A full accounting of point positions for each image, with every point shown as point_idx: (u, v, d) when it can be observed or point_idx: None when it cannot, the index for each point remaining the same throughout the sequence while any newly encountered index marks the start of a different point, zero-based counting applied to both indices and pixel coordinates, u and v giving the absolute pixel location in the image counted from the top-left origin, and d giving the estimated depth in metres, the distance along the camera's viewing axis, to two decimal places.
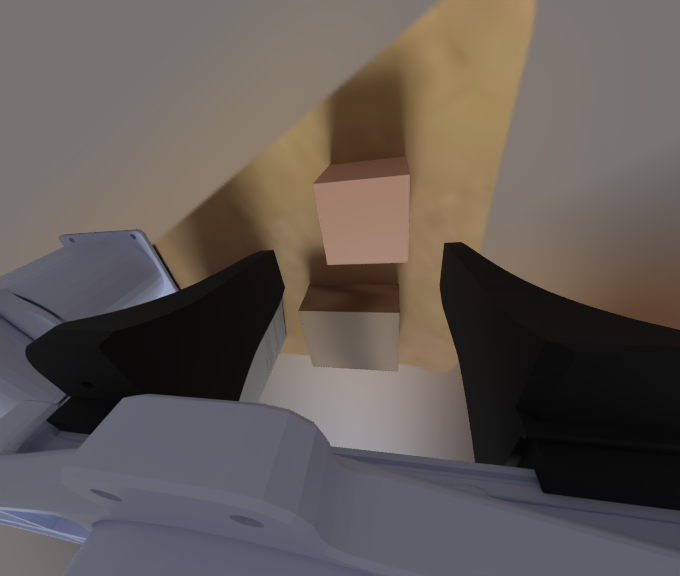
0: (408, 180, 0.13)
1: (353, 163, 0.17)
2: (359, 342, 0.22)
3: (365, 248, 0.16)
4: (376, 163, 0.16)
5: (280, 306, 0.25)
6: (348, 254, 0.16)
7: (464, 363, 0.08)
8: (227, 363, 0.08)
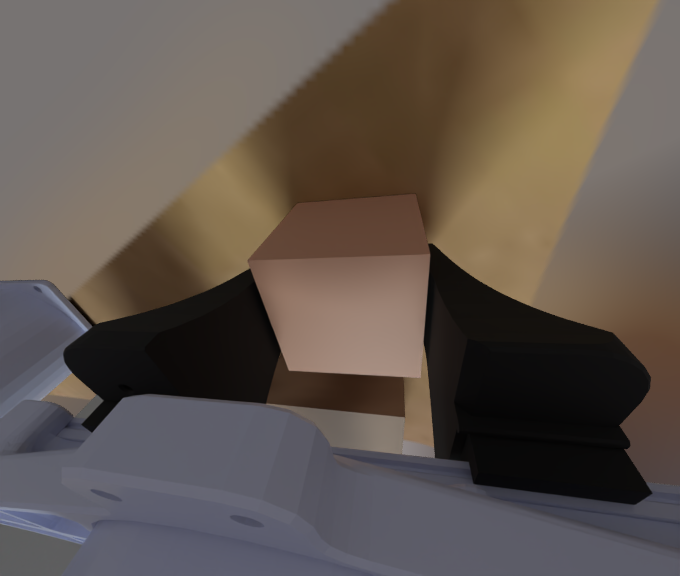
0: (426, 263, 0.07)
1: (331, 204, 0.11)
2: (347, 441, 0.16)
3: (348, 355, 0.09)
4: (368, 208, 0.10)
5: None
6: (320, 360, 0.10)
7: (429, 362, 0.08)
8: (256, 364, 0.08)
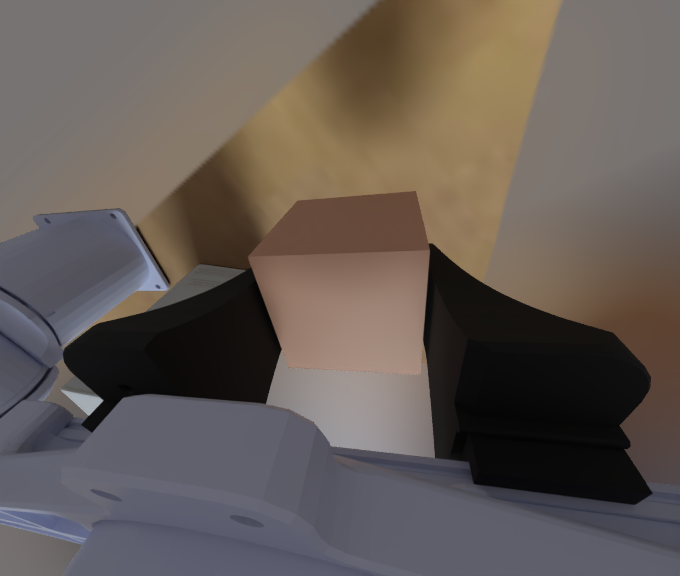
0: (426, 259, 0.07)
1: (332, 202, 0.11)
2: None
3: (348, 352, 0.09)
4: (368, 206, 0.10)
5: None
6: (320, 357, 0.10)
7: (429, 361, 0.08)
8: (256, 364, 0.08)
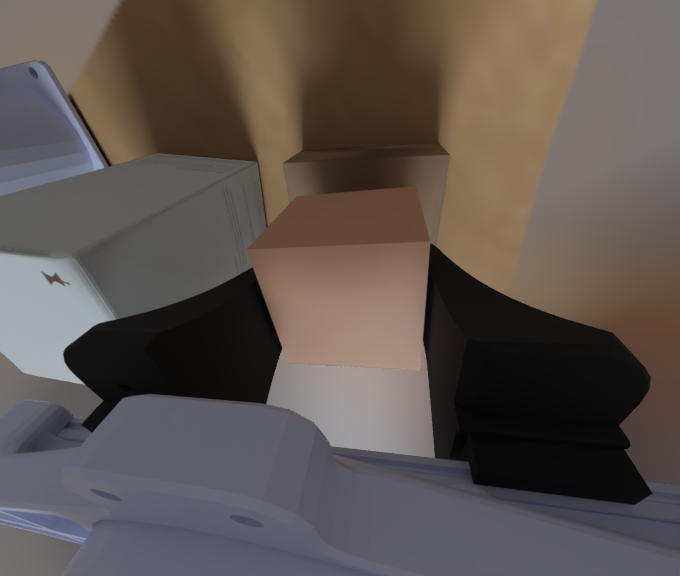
0: (427, 251, 0.07)
1: (331, 197, 0.11)
2: None
3: (347, 347, 0.09)
4: (367, 200, 0.10)
5: (259, 193, 0.17)
6: (320, 352, 0.10)
7: (429, 362, 0.08)
8: (256, 364, 0.08)
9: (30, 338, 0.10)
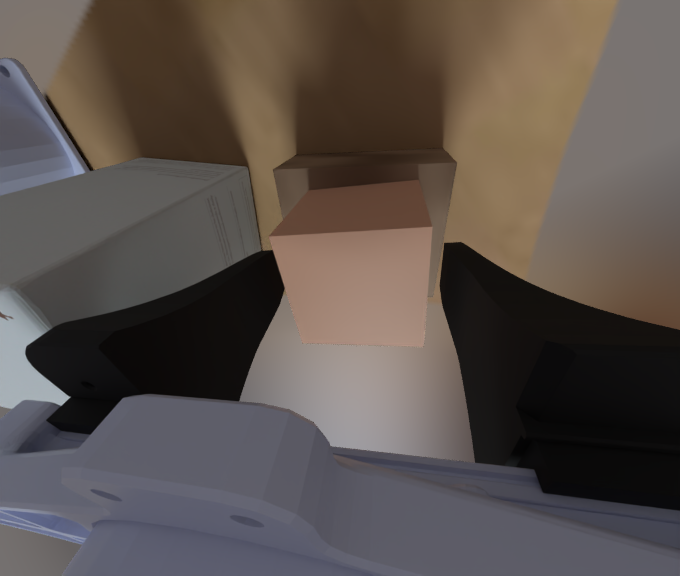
0: (429, 235, 0.08)
1: (341, 190, 0.12)
2: None
3: (358, 326, 0.10)
4: (375, 193, 0.11)
5: (249, 200, 0.16)
6: (332, 332, 0.11)
7: (464, 363, 0.08)
8: (227, 363, 0.08)
9: None
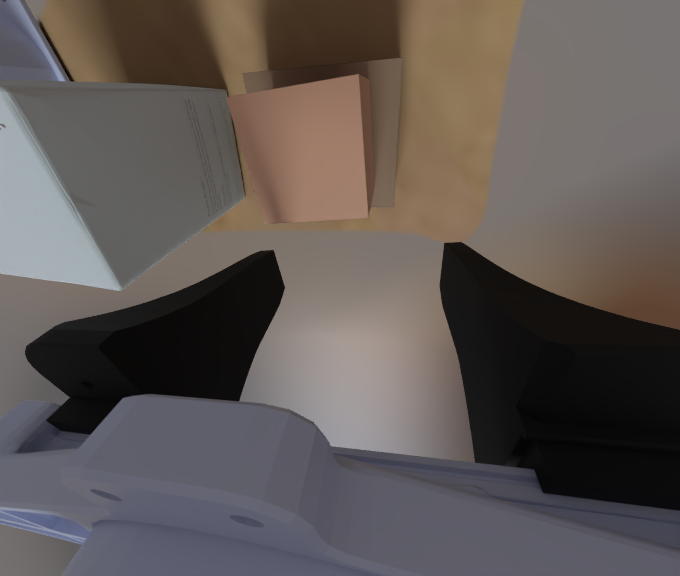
0: (357, 84, 0.09)
1: None
2: None
3: (310, 198, 0.12)
4: None
5: (229, 124, 0.18)
6: (288, 207, 0.12)
7: (464, 363, 0.08)
8: (227, 363, 0.08)
9: None
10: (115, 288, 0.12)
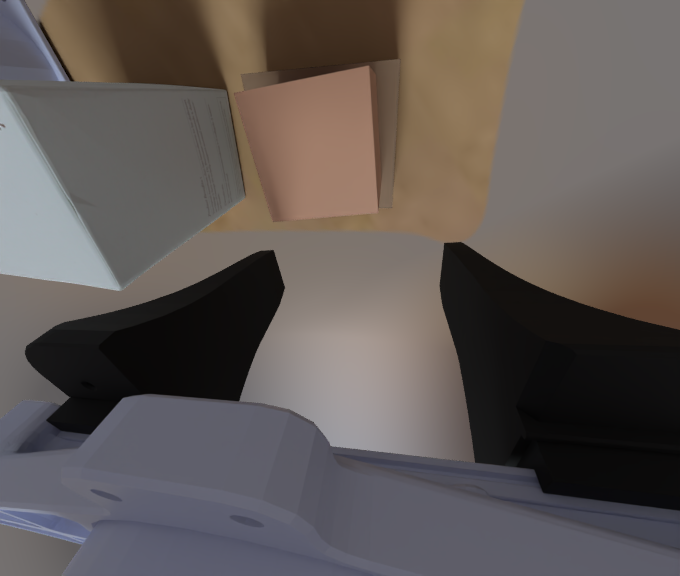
0: (367, 76, 0.09)
1: None
2: None
3: (319, 194, 0.11)
4: None
5: (229, 124, 0.18)
6: (297, 204, 0.12)
7: (464, 363, 0.08)
8: (227, 363, 0.08)
9: None
10: (115, 288, 0.12)
